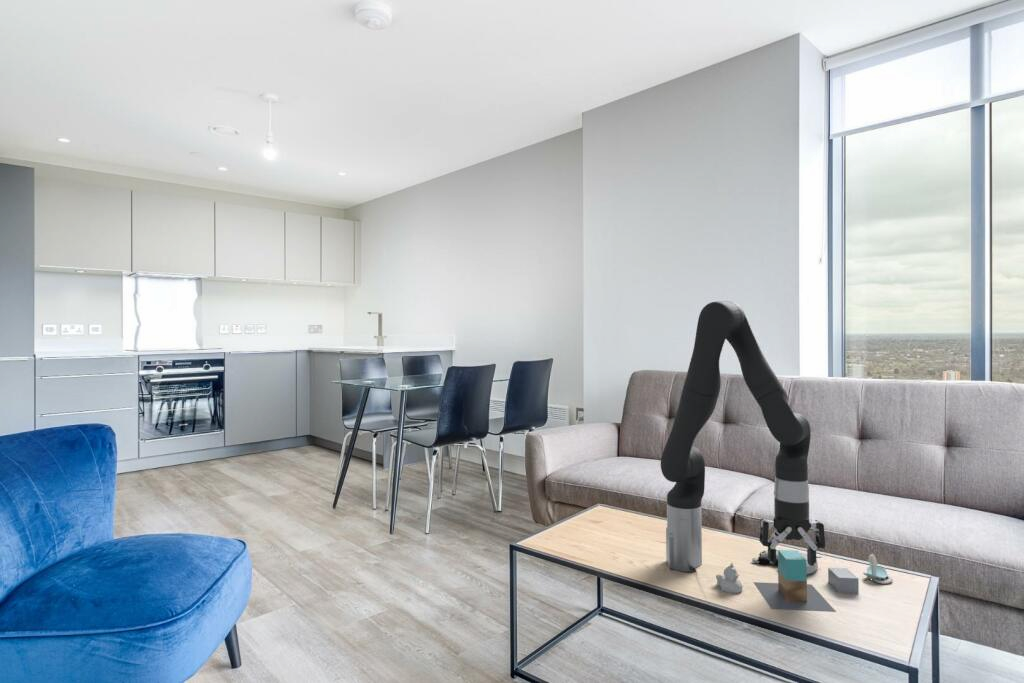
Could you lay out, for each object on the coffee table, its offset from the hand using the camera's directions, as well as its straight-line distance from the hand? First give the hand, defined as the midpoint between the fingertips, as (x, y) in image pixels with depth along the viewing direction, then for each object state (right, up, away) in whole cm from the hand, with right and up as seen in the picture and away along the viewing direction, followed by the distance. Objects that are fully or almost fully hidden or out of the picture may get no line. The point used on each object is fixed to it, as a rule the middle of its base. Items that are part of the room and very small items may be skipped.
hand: (791, 563), depth 136 cm
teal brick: (0, -3, 0) cm, 3 cm away
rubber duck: (-13, -9, +5) cm, 17 cm away
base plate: (0, -9, 0) cm, 9 cm away
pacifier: (+28, -9, +11) cm, 32 cm away
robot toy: (+8, -9, +18) cm, 22 cm away
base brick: (0, -8, 0) cm, 8 cm away
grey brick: (+15, -9, +4) cm, 18 cm away
